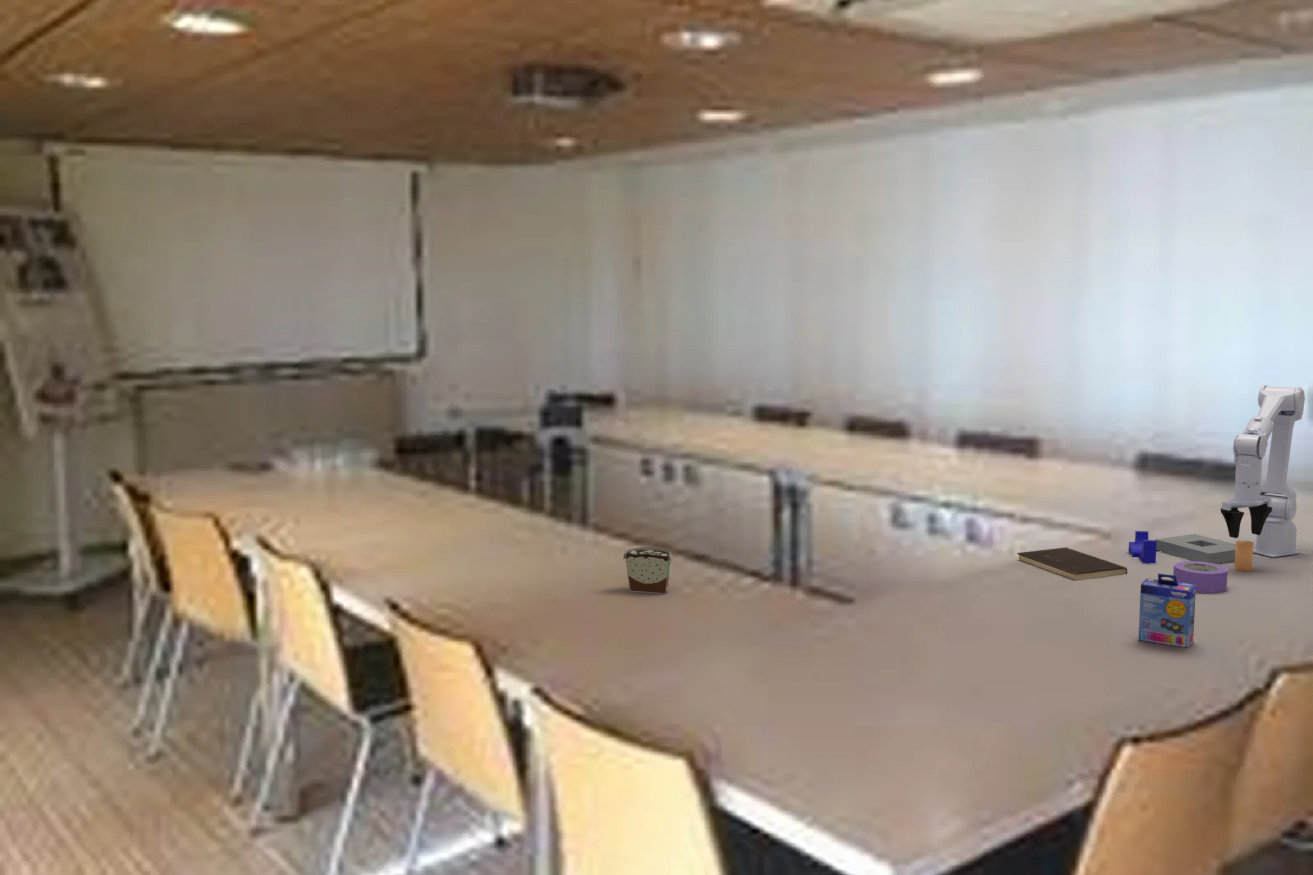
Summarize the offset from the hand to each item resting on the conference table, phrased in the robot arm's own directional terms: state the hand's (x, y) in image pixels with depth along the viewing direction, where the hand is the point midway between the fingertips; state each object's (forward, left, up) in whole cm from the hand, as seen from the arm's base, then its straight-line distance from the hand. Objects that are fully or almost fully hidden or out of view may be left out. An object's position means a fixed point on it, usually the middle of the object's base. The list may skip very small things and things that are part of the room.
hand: (1244, 535), depth 305 cm
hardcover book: (+36, -22, -9) cm, 43 cm away
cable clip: (+13, -20, -9) cm, 26 cm away
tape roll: (+22, +7, -9) cm, 25 cm away
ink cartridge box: (+61, +35, -9) cm, 71 cm away
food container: (+140, -49, -9) cm, 149 cm away
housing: (-3, -16, -9) cm, 18 cm away
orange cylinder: (0, 0, -9) cm, 9 cm away
